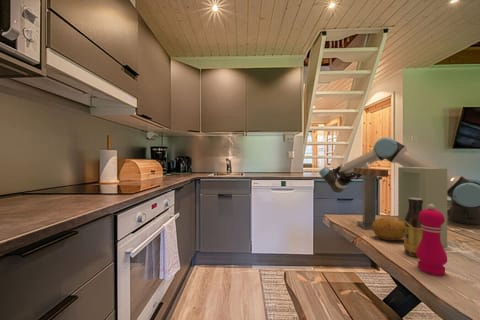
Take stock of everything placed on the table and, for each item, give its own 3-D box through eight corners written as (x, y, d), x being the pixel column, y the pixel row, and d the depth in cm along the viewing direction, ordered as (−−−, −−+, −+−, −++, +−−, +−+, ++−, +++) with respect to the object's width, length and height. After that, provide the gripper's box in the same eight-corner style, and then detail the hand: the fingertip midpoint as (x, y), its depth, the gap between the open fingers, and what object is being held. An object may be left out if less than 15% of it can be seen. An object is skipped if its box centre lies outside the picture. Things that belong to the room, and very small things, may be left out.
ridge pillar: (357, 224, 117) (357, 174, 117) (373, 225, 116) (373, 174, 116) (364, 229, 109) (364, 175, 109) (381, 229, 108) (381, 175, 108)
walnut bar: (353, 173, 127) (353, 167, 127) (359, 173, 127) (359, 167, 127) (380, 176, 99) (380, 169, 99) (388, 176, 99) (388, 169, 99)
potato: (410, 247, 87) (410, 222, 87) (370, 240, 95) (370, 217, 95) (409, 240, 95) (410, 217, 95) (372, 234, 103) (373, 213, 103)
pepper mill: (453, 277, 64) (453, 206, 64) (424, 275, 66) (424, 205, 66) (437, 266, 71) (437, 202, 71) (411, 264, 73) (411, 201, 73)
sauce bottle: (404, 249, 84) (405, 196, 85) (426, 254, 81) (426, 197, 81) (403, 255, 79) (403, 198, 79) (426, 260, 75) (426, 200, 76)
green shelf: (398, 231, 105) (398, 167, 105) (416, 232, 105) (416, 167, 105) (425, 245, 88) (425, 168, 89) (447, 246, 88) (447, 168, 88)
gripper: (364, 186, 144) (380, 170, 125) (324, 185, 145) (333, 170, 127) (361, 175, 147) (376, 158, 129) (322, 175, 149) (331, 158, 131)
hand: (355, 164), depth 128 cm, fingers open, 13 cm apart
